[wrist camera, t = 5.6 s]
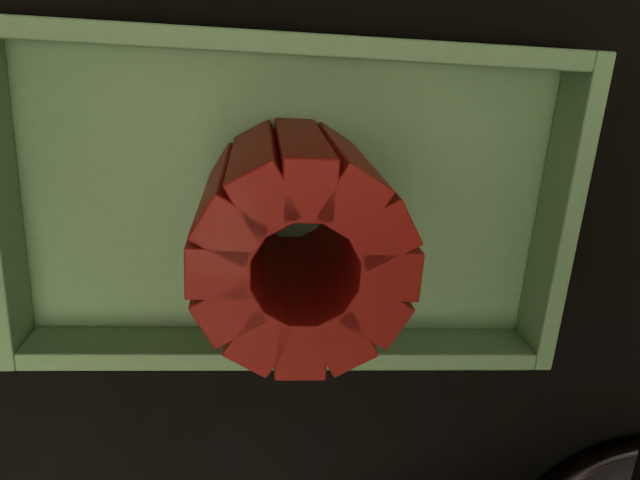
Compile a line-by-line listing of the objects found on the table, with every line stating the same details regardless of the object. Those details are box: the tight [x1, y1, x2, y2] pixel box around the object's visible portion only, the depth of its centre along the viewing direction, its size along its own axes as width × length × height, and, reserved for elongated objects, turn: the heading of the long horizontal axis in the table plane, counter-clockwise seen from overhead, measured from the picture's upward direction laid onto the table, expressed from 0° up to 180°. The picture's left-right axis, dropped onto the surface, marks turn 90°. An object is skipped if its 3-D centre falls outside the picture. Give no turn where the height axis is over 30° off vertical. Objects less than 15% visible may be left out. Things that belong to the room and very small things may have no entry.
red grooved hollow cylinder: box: [184, 118, 425, 381], centre depth 21 cm, size 7×7×8 cm
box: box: [0, 14, 616, 371], centre depth 24 cm, size 24×14×3 cm, turn 87°
